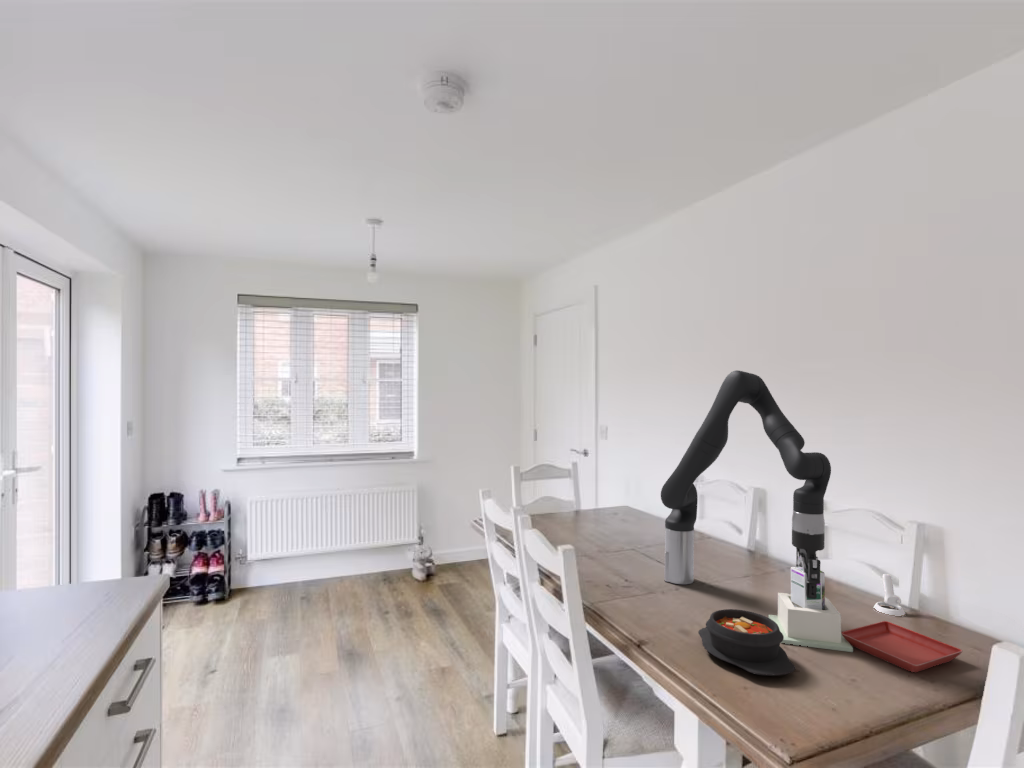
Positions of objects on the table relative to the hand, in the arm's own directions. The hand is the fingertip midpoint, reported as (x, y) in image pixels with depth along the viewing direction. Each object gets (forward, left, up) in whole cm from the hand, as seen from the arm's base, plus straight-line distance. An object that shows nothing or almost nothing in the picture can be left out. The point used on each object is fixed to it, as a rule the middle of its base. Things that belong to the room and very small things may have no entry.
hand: (807, 592), depth 142 cm
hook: (+27, +24, -11) cm, 38 cm away
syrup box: (0, 0, -9) cm, 9 cm away
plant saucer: (+19, -5, -11) cm, 23 cm away
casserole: (-18, -18, -11) cm, 28 cm away
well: (0, 0, -11) cm, 11 cm away
